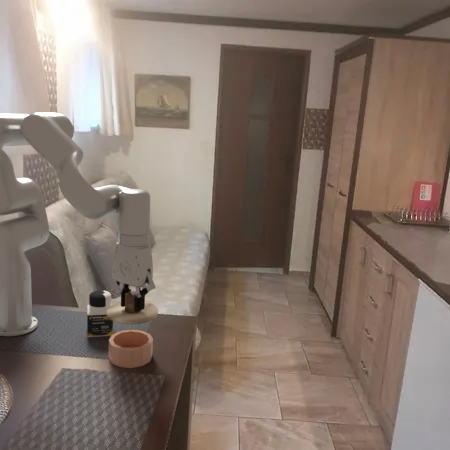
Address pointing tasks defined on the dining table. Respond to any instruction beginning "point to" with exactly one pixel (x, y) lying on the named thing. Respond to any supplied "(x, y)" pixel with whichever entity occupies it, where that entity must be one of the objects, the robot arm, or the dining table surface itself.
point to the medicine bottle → (99, 314)
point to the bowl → (130, 348)
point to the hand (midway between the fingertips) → (132, 307)
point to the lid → (131, 311)
